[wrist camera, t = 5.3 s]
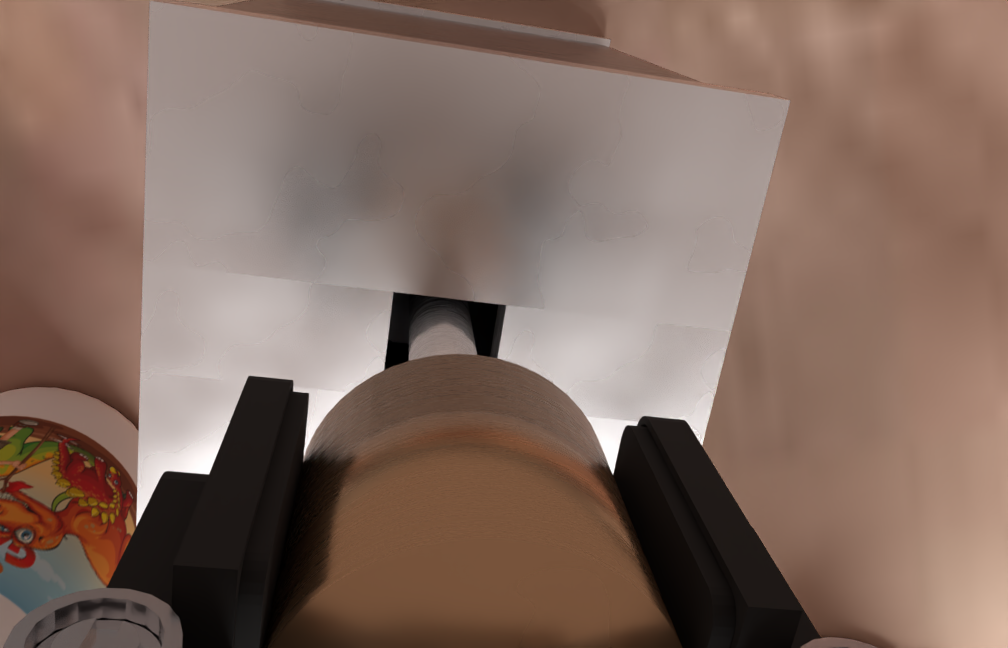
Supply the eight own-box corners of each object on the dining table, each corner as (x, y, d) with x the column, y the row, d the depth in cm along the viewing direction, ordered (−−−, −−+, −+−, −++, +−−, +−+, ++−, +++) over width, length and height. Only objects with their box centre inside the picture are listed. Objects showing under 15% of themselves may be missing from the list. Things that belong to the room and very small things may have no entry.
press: (604, 37, 31) (790, 100, 16) (538, 394, 35) (634, 709, 20) (282, -15, 29) (149, 0, 14) (255, 365, 33) (132, 682, 19)
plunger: (593, 83, 26) (1048, 361, 8) (544, 351, 29) (787, 1038, 10) (297, 37, 25) (-31, 233, 6) (275, 321, 28) (2, 1037, 9)
